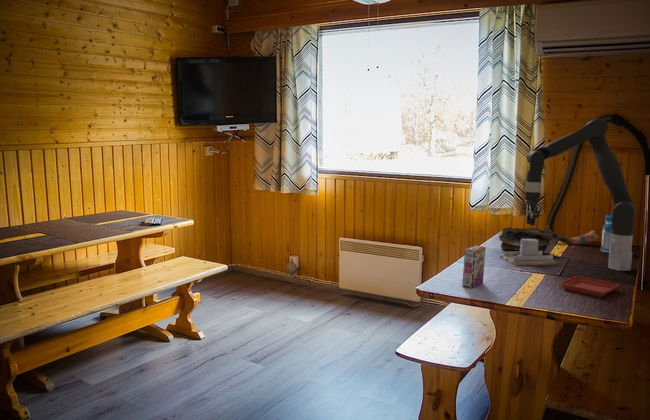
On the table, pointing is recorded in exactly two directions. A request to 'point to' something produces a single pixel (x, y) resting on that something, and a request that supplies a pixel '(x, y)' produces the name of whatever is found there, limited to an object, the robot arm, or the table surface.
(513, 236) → the hollow geode rock
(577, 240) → the drinking horn
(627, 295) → the table surface
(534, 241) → the medicine box
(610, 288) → the plant saucer
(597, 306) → the table surface
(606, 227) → the beverage bottle
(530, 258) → the rail
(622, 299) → the table surface
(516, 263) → the rail board
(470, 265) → the candy bar box
